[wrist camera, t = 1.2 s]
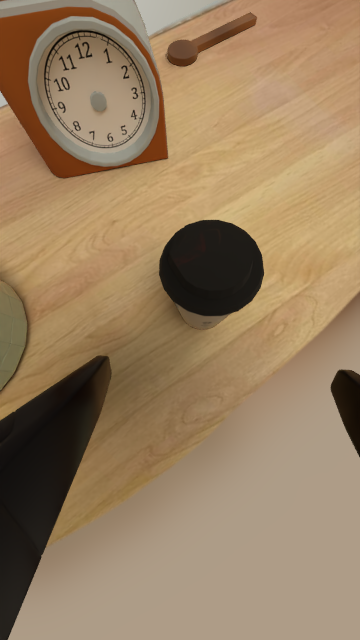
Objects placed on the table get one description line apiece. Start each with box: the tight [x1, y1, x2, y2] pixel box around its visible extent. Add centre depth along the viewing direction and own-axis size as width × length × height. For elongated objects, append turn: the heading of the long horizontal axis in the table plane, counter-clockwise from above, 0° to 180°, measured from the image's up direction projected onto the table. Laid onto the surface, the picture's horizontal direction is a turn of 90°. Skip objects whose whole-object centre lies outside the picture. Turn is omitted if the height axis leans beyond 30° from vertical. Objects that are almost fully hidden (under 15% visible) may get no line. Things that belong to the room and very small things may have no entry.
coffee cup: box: [159, 220, 264, 329], centre depth 19 cm, size 7×7×10 cm
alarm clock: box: [0, 0, 168, 178], centre depth 23 cm, size 15×8×14 cm, turn 103°
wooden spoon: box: [168, 12, 257, 66], centre depth 35 cm, size 16×4×1 cm, turn 125°
